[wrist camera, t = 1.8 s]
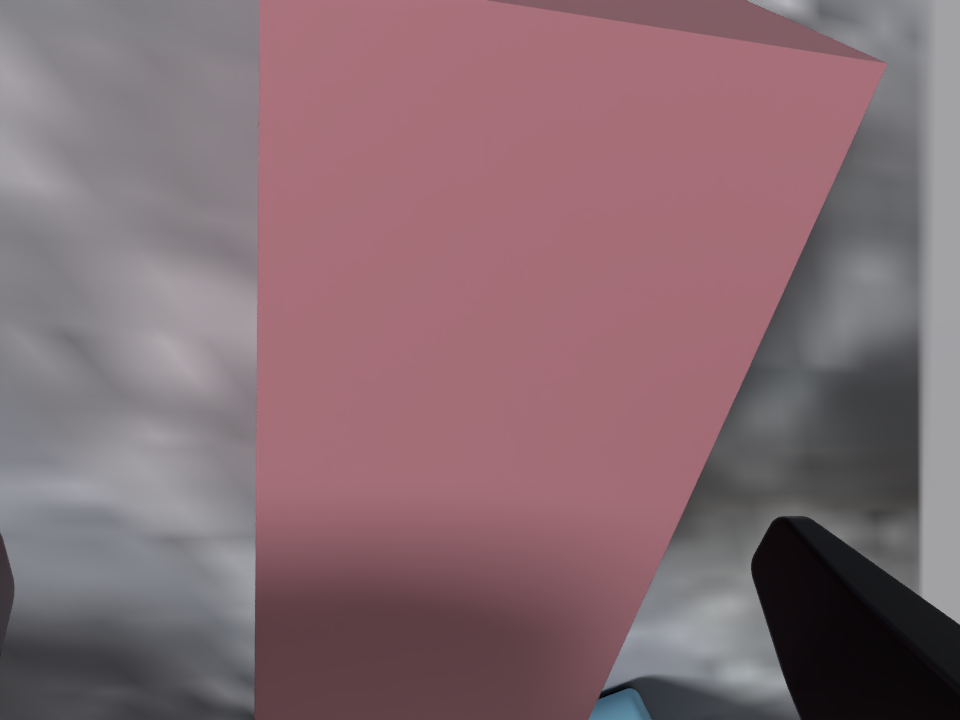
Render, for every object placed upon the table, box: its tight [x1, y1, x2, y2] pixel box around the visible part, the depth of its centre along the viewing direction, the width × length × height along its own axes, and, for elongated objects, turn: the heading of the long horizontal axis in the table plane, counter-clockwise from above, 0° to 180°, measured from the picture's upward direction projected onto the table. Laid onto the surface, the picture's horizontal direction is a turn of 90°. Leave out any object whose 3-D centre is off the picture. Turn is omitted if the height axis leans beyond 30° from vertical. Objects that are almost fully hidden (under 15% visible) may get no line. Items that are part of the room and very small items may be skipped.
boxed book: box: [254, 0, 887, 720], centre depth 11 cm, size 12×4×8 cm, turn 170°
